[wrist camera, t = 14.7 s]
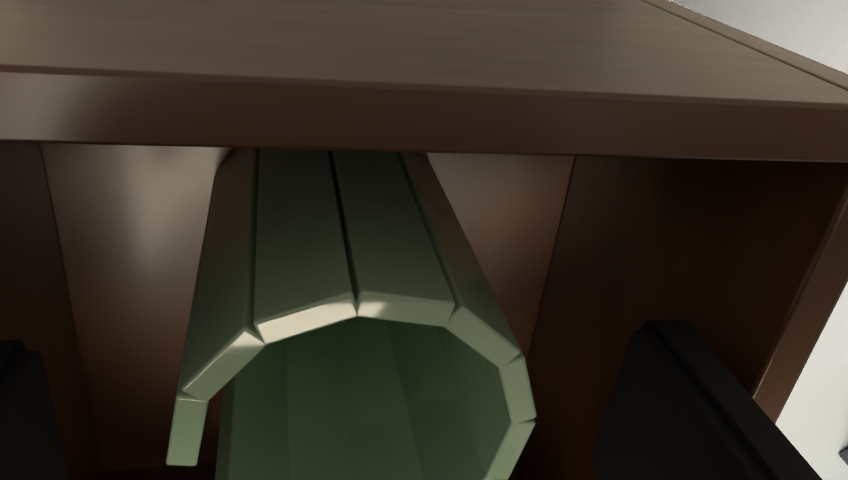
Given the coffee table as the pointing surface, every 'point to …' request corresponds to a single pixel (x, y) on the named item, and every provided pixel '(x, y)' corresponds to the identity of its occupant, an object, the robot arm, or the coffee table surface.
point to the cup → (346, 328)
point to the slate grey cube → (844, 455)
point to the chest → (457, 173)
